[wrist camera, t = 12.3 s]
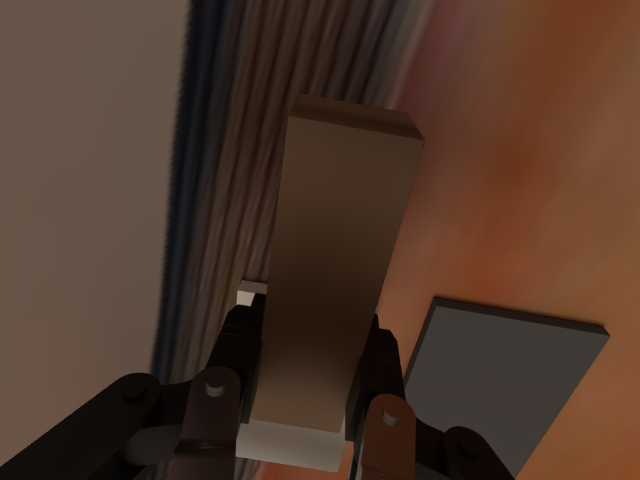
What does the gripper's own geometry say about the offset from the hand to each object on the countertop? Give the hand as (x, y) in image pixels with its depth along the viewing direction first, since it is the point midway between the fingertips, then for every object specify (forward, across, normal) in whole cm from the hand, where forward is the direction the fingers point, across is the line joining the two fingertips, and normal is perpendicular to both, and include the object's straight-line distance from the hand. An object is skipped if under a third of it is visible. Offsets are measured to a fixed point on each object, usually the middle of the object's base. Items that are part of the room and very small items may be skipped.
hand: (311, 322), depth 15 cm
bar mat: (+8, -12, +13) cm, 20 cm away
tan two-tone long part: (+1, 0, 0) cm, 1 cm away
